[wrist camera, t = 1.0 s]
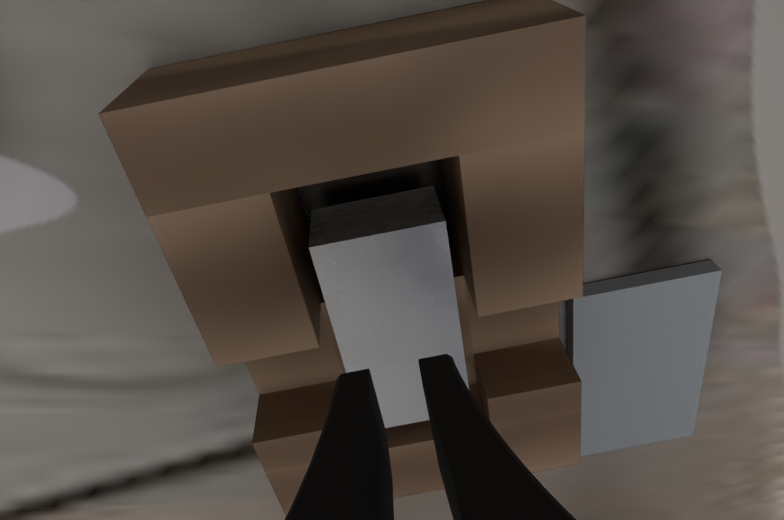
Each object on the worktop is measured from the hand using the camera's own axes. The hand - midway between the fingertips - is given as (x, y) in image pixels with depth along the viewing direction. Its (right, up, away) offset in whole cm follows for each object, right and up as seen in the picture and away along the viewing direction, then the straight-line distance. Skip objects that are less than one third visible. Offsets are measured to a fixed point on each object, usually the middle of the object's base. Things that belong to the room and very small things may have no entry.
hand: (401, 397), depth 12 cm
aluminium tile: (0, +2, +8) cm, 8 cm away
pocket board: (0, +3, +10) cm, 10 cm away
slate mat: (+11, -2, +14) cm, 18 cm away
